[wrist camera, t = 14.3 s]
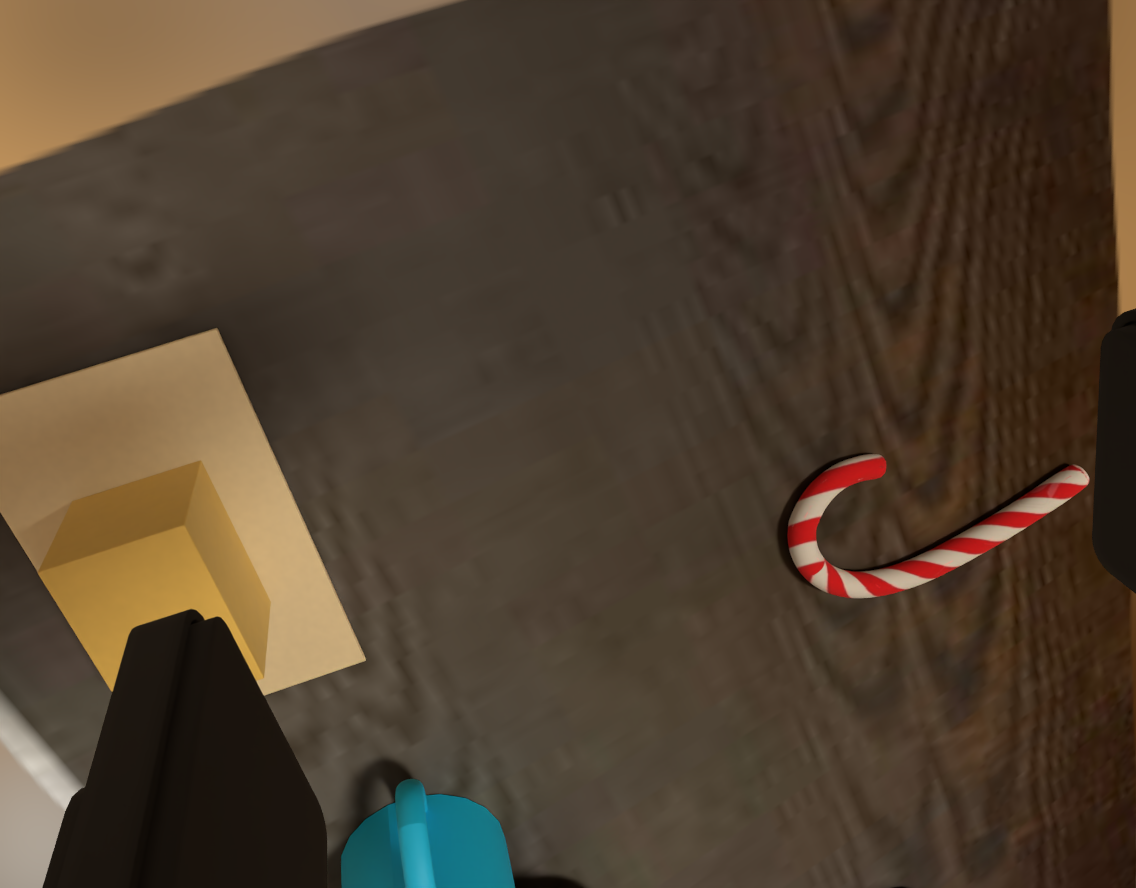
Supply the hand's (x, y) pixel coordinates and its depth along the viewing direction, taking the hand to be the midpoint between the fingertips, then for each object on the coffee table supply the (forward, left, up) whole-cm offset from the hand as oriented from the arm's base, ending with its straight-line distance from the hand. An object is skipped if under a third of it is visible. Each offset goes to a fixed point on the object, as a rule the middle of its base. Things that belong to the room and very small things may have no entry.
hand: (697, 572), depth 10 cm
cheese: (+12, -15, -28) cm, 33 cm away
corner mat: (+12, -15, -28) cm, 33 cm away
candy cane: (+22, +17, -28) cm, 39 cm away
